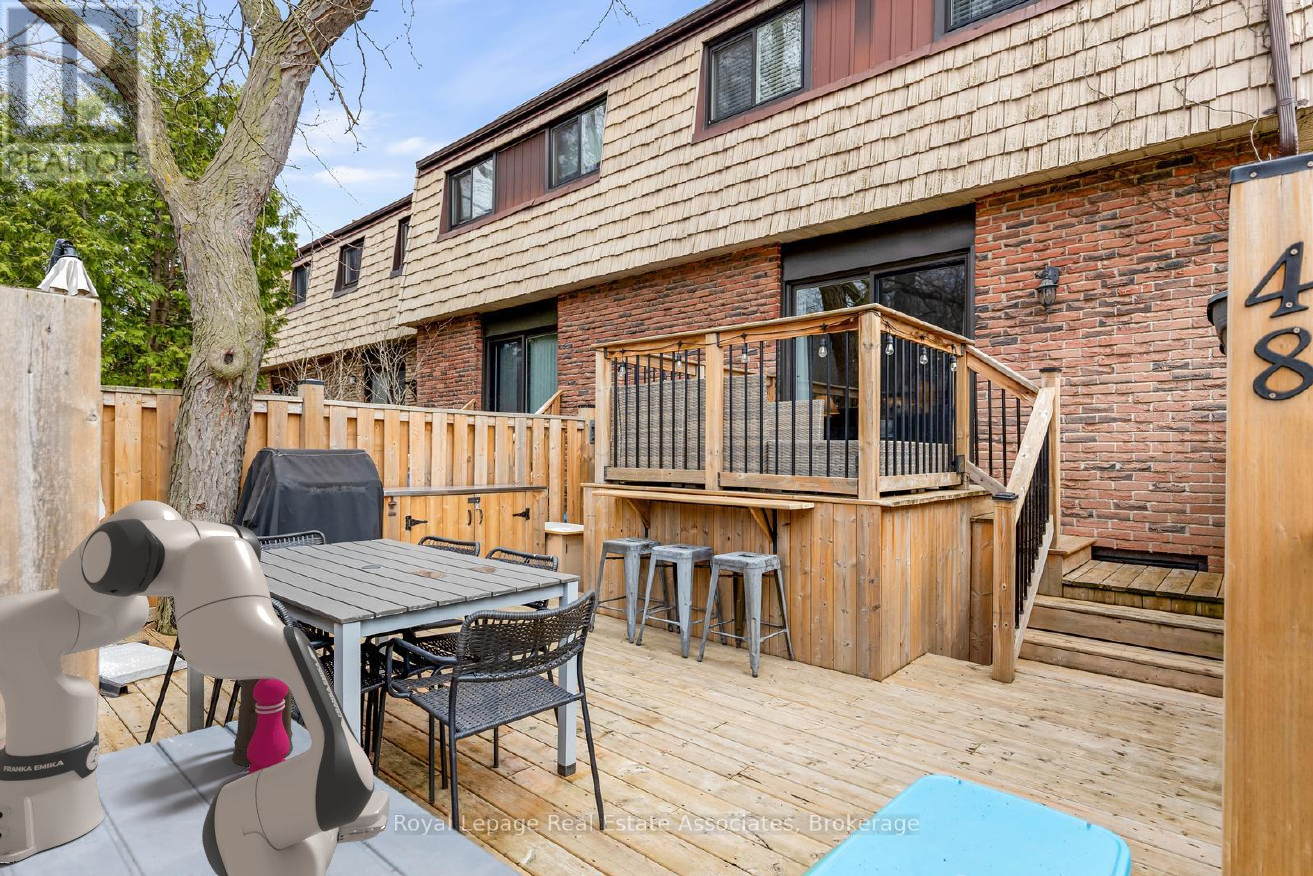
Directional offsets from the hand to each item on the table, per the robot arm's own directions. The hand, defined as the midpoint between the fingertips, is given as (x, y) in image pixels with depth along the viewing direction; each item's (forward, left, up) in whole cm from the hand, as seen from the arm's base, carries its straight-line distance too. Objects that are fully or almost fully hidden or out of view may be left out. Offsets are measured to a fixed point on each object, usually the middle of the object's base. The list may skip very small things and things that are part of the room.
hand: (324, 793), depth 104 cm
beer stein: (-21, +43, -10) cm, 49 cm away
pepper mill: (-16, +32, -10) cm, 38 cm away
